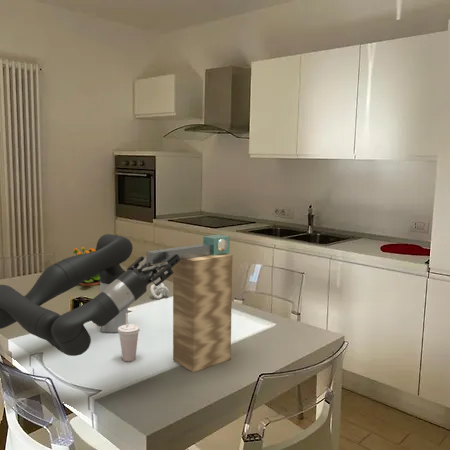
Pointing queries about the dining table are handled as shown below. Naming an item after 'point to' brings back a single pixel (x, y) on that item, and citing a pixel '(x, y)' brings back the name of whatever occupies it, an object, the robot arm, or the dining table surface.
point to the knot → (159, 291)
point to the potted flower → (93, 280)
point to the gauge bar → (192, 250)
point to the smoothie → (128, 340)
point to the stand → (202, 311)
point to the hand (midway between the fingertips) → (169, 254)
